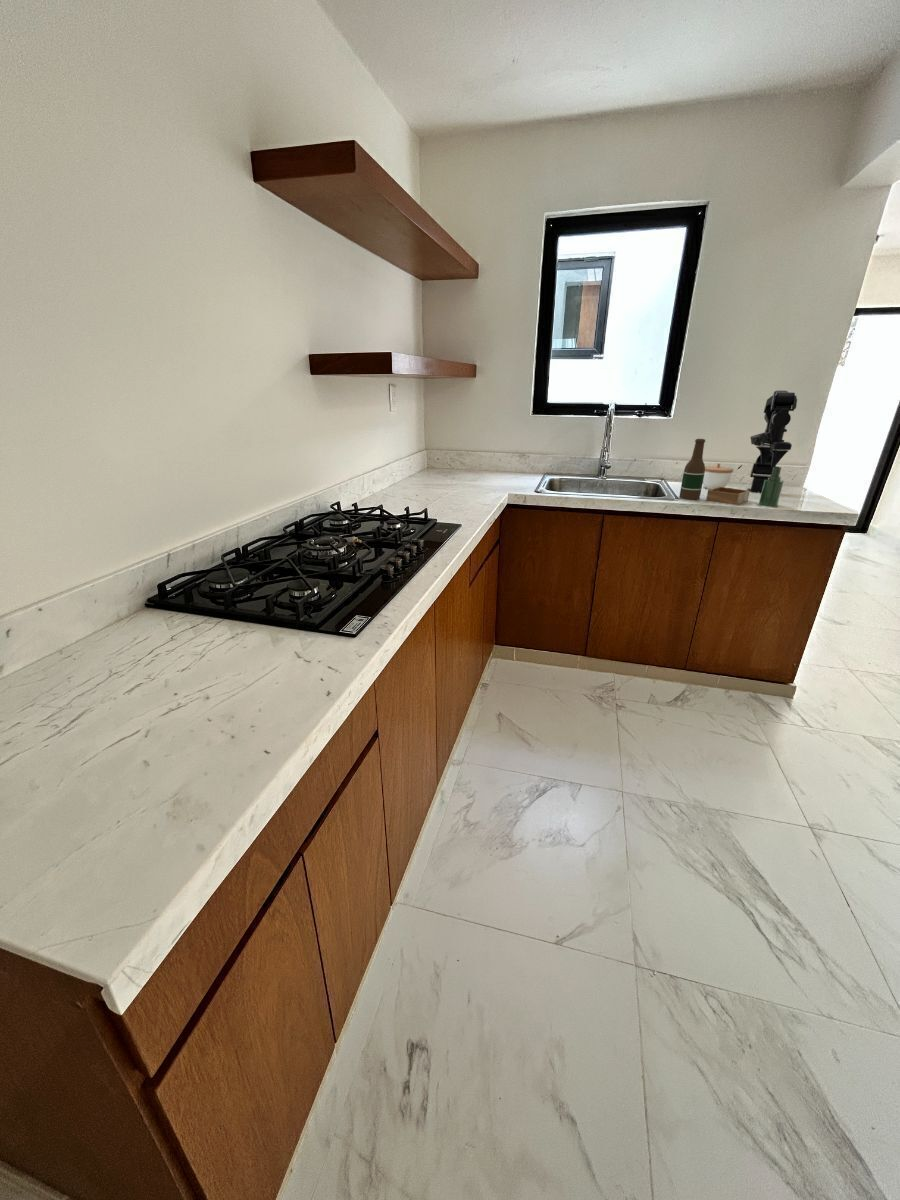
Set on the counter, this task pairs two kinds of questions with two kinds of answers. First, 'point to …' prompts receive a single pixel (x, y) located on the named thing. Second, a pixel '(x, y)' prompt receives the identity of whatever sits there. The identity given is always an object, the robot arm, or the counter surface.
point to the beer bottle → (694, 474)
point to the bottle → (772, 489)
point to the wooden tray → (728, 495)
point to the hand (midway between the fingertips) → (767, 466)
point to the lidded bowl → (716, 476)
